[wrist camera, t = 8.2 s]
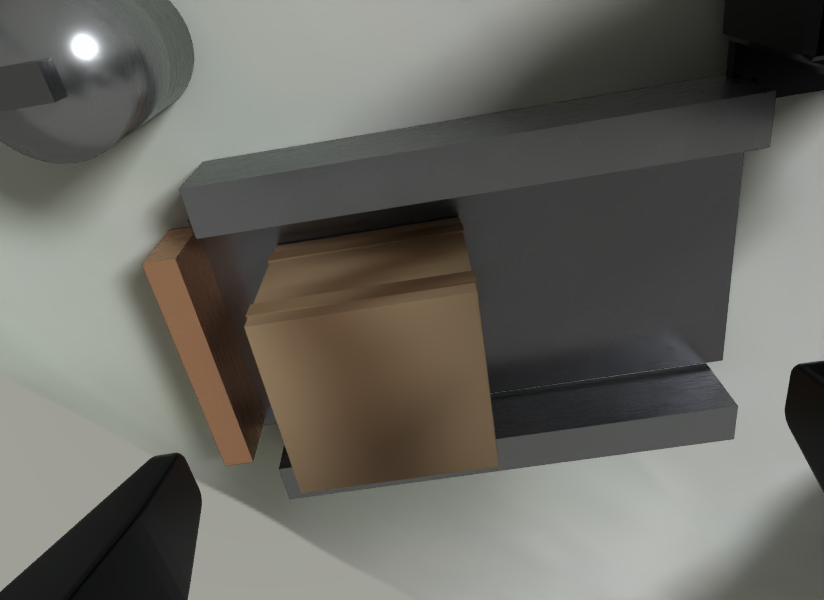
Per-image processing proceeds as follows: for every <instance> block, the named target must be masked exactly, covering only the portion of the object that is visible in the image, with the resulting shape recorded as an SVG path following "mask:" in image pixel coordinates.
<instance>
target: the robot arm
mask: <svg viewBox="0 0 824 600" xmlns="http://www.w3.org/2000/svg"><path fill="white" fill-rule="evenodd" d="M723 34H724V35H725V36H726V37H727V38H728V39H729V45H728V57H727V69H726V77H729V78H732V79H734V78H740V77H742V78H744V79H745V78H746V77H748V76H751V80H752V82H755V83H758V84H760V85H763V86H766V87H768V88H771V89H773V90H776V91H777V92H776V98H778V97H784V96H790V95H796V94H802V93H809V92H815V91H821V90H824V0H725V10H724V22H723ZM785 417H786V421H787V424H788V426H789V428H790V430H791V432H792V434H793V436H794V438H795V440H796V441H797V443H798V445H799V447H800V449H801V451H802V453H803V455H804V457H805V459H806V460H807V462H808V464H809V466H810V468H811V470H812V472H813V474H814V476H815V477H816V479H817V481H818V483H819V485H820V487H821V489H822V491H823V493H824V361H816V362H809V363H802V364H798V365H796V366H795V367H794V368H793V369H792V371H791V375H790V381H789V387H788V393H787V399H786V405H785ZM201 506H202V499H201V493H200V490H199V487H198V485H197V483H196V481H195V479H194V476H193V474H192V472H191V470H190V468H189V466H188V463H187V461H186V459H185V458H184V456H183V455H181V454H179V453H171V454H164V455H158V456H154V457H152V458H151V459H149V460H148V461H147V462H146V463H145V464H144V465H143V466H141V467H140V468H139V469H138V470H137V471H136V472H135V473H134V474H132V475H131V476H130V477H129V478H128V479H127V480H126V481H124V482H123V483H122V484H121V485H120V486H119V487H118V488H117V489H116V490H114V491H113V492H112V493H111V494H110V495H109V496H108V497H106V498H105V499H104V500H103V501H102V502H101V503H100V504H99V505H97V506H96V507H95V508H94V509H93V510H92V511H91V512H90V513H88V514H87V515H86V516H85V517H84V518H83V519H82V520H81V521H79V522H78V523H77V524H76V525H75V526H74V527H73V528H72V529H70V530H69V531H68V532H67V533H66V534H65V535H64V536H63V537H61V538H60V539H59V540H58V541H57V542H56V543H55V544H54V545H53V546H51V547H50V548H49V549H48V550H47V551H46V552H45V553H44V554H42V555H41V556H40V557H39V558H38V559H37V560H36V561H35V562H33V563H32V564H31V565H30V566H29V567H28V568H27V569H25V570H24V571H23V572H22V573H21V574H20V575H19V576H18V577H16V578H15V579H14V580H13V581H12V582H11V583H10V584H9V585H7V586H6V587H5V588H4V589H3V590H2V591H1V592H0V600H188V594H189V588H190V582H191V575H192V568H193V561H194V555H195V547H196V540H197V534H198V527H199V520H200V513H201Z"/></svg>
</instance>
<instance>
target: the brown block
mask: <svg viewBox="0 0 824 600" xmlns="http://www.w3.org/2000/svg"><path fill="white" fill-rule="evenodd" d="M268 264H269V265H268V268H267V270H266V273H265V275H264V278H263V280H262V283H261V286H260V288H259V291H258V293H257V296H256V298H255V301H254V303H253V304H250V306H249V309H248V311H247V314H246V318H247V321H246V324H245V326H244V328H245V331H246V334H247V337H248V340H249V343H250V346H251V349H252V351H253V354H254V357H255V360H256V363H257V366H258V369H259V372H260V375H261V378H262V381H263V384H264V386H265V389H266V392H267V395H268V398H269V401H270V404H271V407H272V410H273V413H274V416H275V418H276V421H277V424H278V427H279V430H280V433H281V436H282V439H283V442H284V445H285V448H286V450H287V453H288V456H289V459H290V462H291V465H292V468H293V471H294V474H295V477H296V480H297V483H298V485H299V488H300V491H301V493H307V492H315V491H322V490H330V489H337V488H344V487H352V486H359V485H367V484H374V483H381V482H389V481H396V480H403V479H411V478H418V477H426V476H433V475H440V474H448V473H455V472H463V471H470V470H477V469H485V468H492V467H499V466H498V458H497V456H498V452H497V444H496V435H495V427H494V419H493V411H492V403H491V395H490V387H489V379H488V370H487V362H486V354H485V346H484V338H483V330H482V322H481V313H480V305H479V297H478V289H477V281H476V277H475V273H474V270H472V269H471V265H470V261H469V257H468V253H467V248H466V242H465V234H464V228H463V224H462V223H460V219H459V217H456V218H450V219H444V220H437V221H431V222H425V223H418V224H412V225H406V226H399V227H393V228H387V229H380V230H374V231H368V232H361V233H355V234H349V235H342V236H336V237H330V238H323V239H317V240H311V241H304V242H298V243H292V244H285V245H279V246H276V247H275V250H274V252H272V253H271V254H270V256H269V259H268Z"/></svg>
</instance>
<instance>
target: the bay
mask: <svg viewBox="0 0 824 600" xmlns="http://www.w3.org/2000/svg"><path fill="white" fill-rule="evenodd" d="M193 66H194V51H193V44H192V40H191V36H190V33H189V31H188V28H187V26H186V24H185V22H184V20H183V18H182V17H181V15H180V13H179V12H178V10H177V9H176V8H175V7H174V6H173V4H172V3H171V2H170V1H169V0H0V141H2V142H3V143H4V144H6V145H8V146H9V147H11V148H12V149H14V150H16V151H18V152H20V153H22V154H24V155H27V156H29V157H32V158H34V159H38V160H42V161H46V162H52V163H77V162H81V161H85V160H89V159H91V158H94V157H96V156H98V155H99V154H101V153H103V152H104V151H106V150H107V149H109V148H110V147H111V146H113V145H114V144H116V143H117V142H118V141H120V140H121V139H123V138H124V137H125V136H127V135H128V134H130V133H131V132H133V131H134V130H135V129H137V128H138V127H140V126H141V125H142V124H144V123H145V122H147V121H148V120H149V119H151V118H152V117H154V116H155V115H156V114H158V113H159V112H161V111H162V110H164V109H165V108H166V107H168V106H169V105H171V104H172V103H173V102H174V101H176V100H177V99H178V98H179V97H180V96H181V95H182V94H183V92H184V91H185V89H186V88H187V86H188V84H189V81H190V79H191V76H192V72H193ZM776 92H777V91H776V90H773V89H771V88H768V87H766V86H763V85H760V84H758V83H755V82H752V81H750V80H747V79H744V78H742V77H740V78H734V79H732V78H729V77H726V75H720V76H714V77H708V78H702V79H696V80H690V81H684V82H678V83H672V84H666V85H660V86H654V87H648V88H642V89H636V90H630V91H624V92H618V93H612V94H606V95H600V96H594V97H588V98H582V99H576V100H570V101H564V102H558V103H552V104H546V105H540V106H534V107H528V108H522V109H516V110H510V111H504V112H498V113H492V114H486V115H480V116H474V117H468V118H462V119H456V120H450V121H444V122H438V123H432V124H426V125H421V126H415V127H409V128H403V129H397V130H391V131H385V132H379V133H373V134H367V135H361V136H355V137H349V138H343V139H337V140H331V141H325V142H319V143H313V144H307V145H301V146H295V147H289V148H283V149H277V150H271V151H265V152H259V153H253V154H247V155H241V156H235V157H229V158H223V159H217V160H211V161H205V162H202V163H201V165H200V166H199V167H198V168H197V169H196V170H195V171H194V172H193V174H192V175H191V176H190V177H189V178H188V179H187V180H186V181H185V183H184V184H183V185H182V186H181V187H180V188H179V192H180V194H181V197H182V200H183V203H184V206H185V208H186V211H187V214H188V217H189V219H188V222H189V225H190V227H186V228H180V229H174V230H169V231H168V232H167V233H166V235H165V236H164V237H163V238H162V240H161V241H160V242H159V243H158V245H157V246H156V247H155V248H154V250H153V251H152V252H151V253H150V255H149V256H148V257H147V259H146V260H145V261H144V262H143V264H142V266H143V268H144V270H145V273H146V275H147V278H148V280H149V282H150V285H151V287H152V290H153V292H154V295H155V297H156V299H157V302H158V304H159V307H160V309H161V311H162V314H163V316H164V319H165V321H166V324H167V326H168V328H169V331H170V333H171V336H172V338H173V340H174V343H175V345H176V348H177V350H178V352H179V355H180V357H181V360H182V362H183V365H184V367H185V369H186V372H187V374H188V377H189V379H190V381H191V384H192V386H193V389H194V391H195V394H196V396H197V398H198V401H199V403H200V406H201V408H202V410H203V413H204V415H205V418H206V420H207V423H208V425H209V427H210V430H211V432H212V435H213V437H214V439H215V442H216V444H217V447H218V449H219V452H220V454H221V456H222V459H223V461H224V464H225V466H227V465H234V464H242V463H249V462H253V460H254V457H255V453H256V449H257V446H258V442H259V438H260V435H261V431H262V427H263V425H270V424H277V421H276V418H275V416H274V413H273V410H272V407H271V404H270V401H269V398H268V395H267V392H266V389H265V386H264V384H263V381H262V378H261V375H260V372H259V369H258V366H257V363H256V360H255V357H254V354H253V351H252V349H251V346H250V343H249V340H248V337H247V334H246V331H245V328H244V326H245V324H246V321H247V318H246V314H247V311H248V309H249V306H250V304H253V303H254V301H255V298H256V296H257V293H258V291H259V288H260V286H261V283H262V280H263V278H264V275H265V273H266V270H267V268H268V265H269V264H268V259H269V256H270V254H271V253H272V252H274V250H275V247H276V246H279V245H285V244H292V243H298V242H304V241H311V240H317V239H323V238H330V237H336V236H342V235H349V234H355V233H361V232H368V231H374V230H380V229H387V228H393V227H399V226H406V225H412V224H418V223H425V222H431V221H437V220H444V219H450V218H456V217H459V219H460V223H462V224H463V228H464V234H465V242H466V248H467V253H468V257H469V261H470V265H471V269H472V270H474V273H475V277H476V281H477V289H478V297H479V305H480V313H481V322H482V330H483V338H484V346H485V354H486V362H487V370H488V379H489V387H490V393H494V394H490V395H491V403H492V411H493V419H494V427H495V435H496V444H497V452H498V456H497V458H498V466H499V467H492V468H485V469H477V470H470V471H463V472H455V473H448V474H440V475H433V476H426V477H418V478H411V479H403V480H396V481H389V482H381V483H374V484H367V485H359V486H352V487H344V488H337V489H330V490H322V491H315V492H307V493H301V491H300V488H299V485H298V483H297V480H296V477H295V474H294V471H293V468H292V465H291V462H290V459H289V456H288V453H287V450H286V448H285V445H284V449H283V453H282V458H281V462H280V467H279V471H280V473H281V476H282V479H283V482H284V485H285V487H286V490H287V493H288V496H289V499H294V498H301V497H308V496H316V495H323V494H331V493H338V492H345V491H353V490H360V489H368V488H375V487H382V486H390V485H397V484H405V483H412V482H419V481H427V480H434V479H442V478H449V477H457V476H464V475H471V474H479V473H486V472H494V471H501V470H508V469H516V468H523V467H531V466H538V465H545V464H553V463H560V462H568V461H575V460H582V459H590V458H597V457H605V456H612V455H619V454H627V453H634V452H642V451H649V450H656V449H664V448H671V447H679V446H686V445H694V444H701V443H708V442H716V441H723V440H731V439H734V434H735V426H736V417H737V409H738V405H737V404H736V403H735V401H734V400H733V399H732V397H731V396H730V395H729V393H728V392H727V391H726V389H725V388H724V387H723V385H722V384H721V383H720V381H719V380H718V379H717V377H716V376H715V375H714V373H713V372H712V371H711V369H710V368H709V367H708V365H707V364H700V363H707V362H714V361H721V360H723V351H724V341H725V331H726V322H727V312H728V302H729V292H730V283H731V273H732V263H733V253H734V244H735V234H736V224H737V215H738V205H739V195H740V185H741V176H742V166H743V156H744V151H750V150H756V149H763V148H769V147H770V141H771V133H772V124H773V116H774V108H775V100H776ZM693 364H699V365H693ZM685 365H692V366H685ZM678 366H685V367H678ZM671 367H677V368H671ZM664 368H670V369H664ZM657 369H663V370H657ZM650 370H656V371H650ZM643 371H649V372H643ZM636 372H642V373H636ZM629 373H635V374H629ZM622 374H628V375H622ZM615 375H621V376H615ZM608 376H614V377H608ZM601 377H607V378H601ZM594 378H600V379H594ZM587 379H593V380H587ZM580 380H586V381H580ZM573 381H579V382H573ZM566 382H572V383H566ZM559 383H565V384H559ZM552 384H558V385H552ZM545 385H551V386H545ZM538 386H544V387H538ZM531 387H537V388H531ZM524 388H530V389H524ZM516 389H522V390H516ZM509 390H515V391H509ZM502 391H508V392H502ZM495 392H501V393H495Z"/></svg>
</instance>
